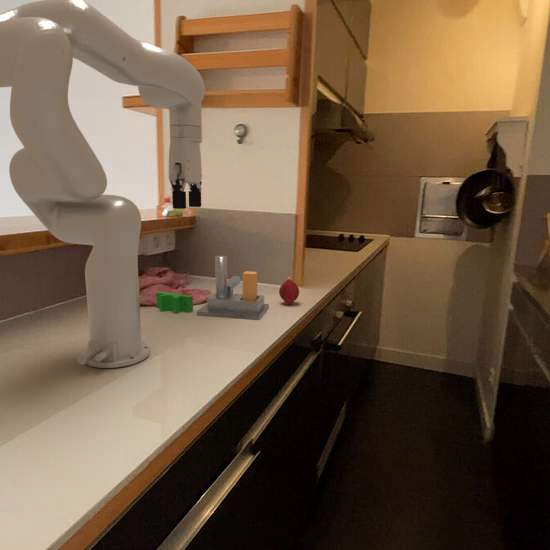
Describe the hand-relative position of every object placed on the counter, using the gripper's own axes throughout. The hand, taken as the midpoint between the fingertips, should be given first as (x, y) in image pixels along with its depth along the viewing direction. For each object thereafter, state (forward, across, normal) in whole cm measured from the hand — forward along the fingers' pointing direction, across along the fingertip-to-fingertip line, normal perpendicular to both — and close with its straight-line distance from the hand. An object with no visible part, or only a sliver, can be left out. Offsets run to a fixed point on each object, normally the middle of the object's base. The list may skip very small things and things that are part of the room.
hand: (187, 207), depth 106 cm
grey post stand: (+28, -13, +9) cm, 32 cm away
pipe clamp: (+29, -5, -7) cm, 30 cm away
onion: (+28, -19, +23) cm, 41 cm away
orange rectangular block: (+27, -8, +14) cm, 32 cm away
